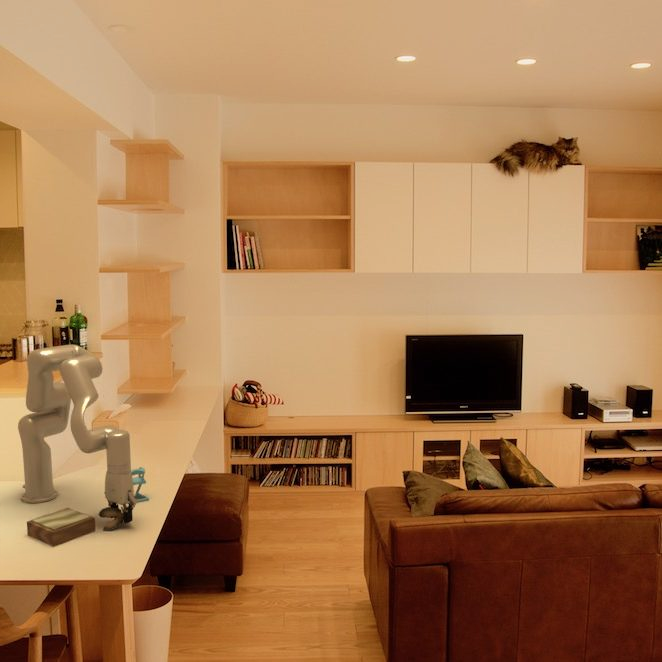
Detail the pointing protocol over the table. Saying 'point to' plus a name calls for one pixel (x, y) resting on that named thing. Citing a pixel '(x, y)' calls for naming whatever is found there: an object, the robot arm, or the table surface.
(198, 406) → the table surface
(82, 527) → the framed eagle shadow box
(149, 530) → the table surface
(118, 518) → the eagle figurine
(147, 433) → the table surface
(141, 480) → the chair
